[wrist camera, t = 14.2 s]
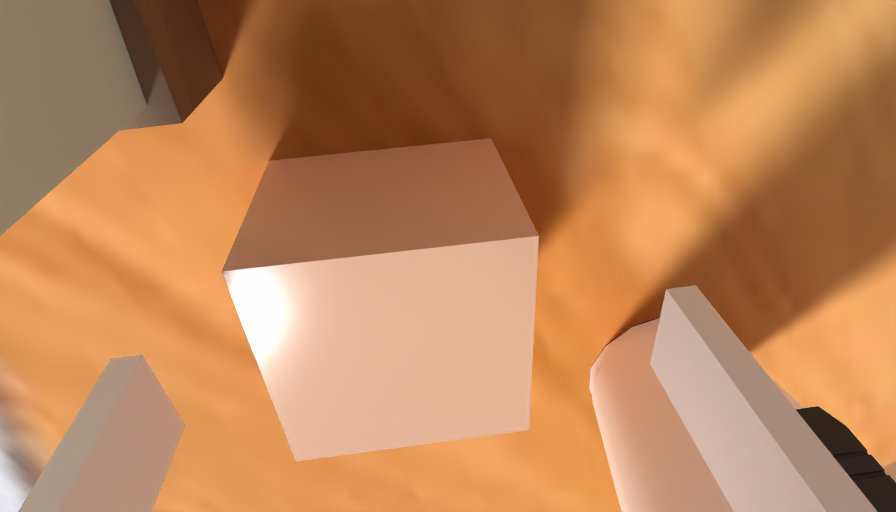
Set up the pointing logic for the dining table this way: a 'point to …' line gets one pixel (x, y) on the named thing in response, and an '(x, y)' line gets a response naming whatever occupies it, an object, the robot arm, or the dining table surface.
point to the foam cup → (649, 432)
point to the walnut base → (167, 57)
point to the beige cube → (389, 296)
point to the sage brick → (58, 94)
